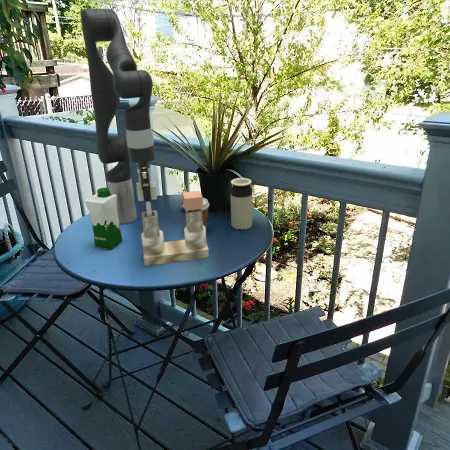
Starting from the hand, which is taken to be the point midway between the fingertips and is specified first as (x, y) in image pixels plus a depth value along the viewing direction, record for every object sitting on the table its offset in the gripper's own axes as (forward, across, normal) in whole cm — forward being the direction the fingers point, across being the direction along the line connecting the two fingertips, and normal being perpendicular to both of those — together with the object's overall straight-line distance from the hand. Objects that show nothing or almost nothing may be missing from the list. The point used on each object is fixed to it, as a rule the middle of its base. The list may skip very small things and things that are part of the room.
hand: (147, 197), depth 124 cm
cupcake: (+22, +35, -17) cm, 45 cm away
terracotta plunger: (+12, 0, -14) cm, 18 cm away
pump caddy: (+22, 0, -7) cm, 23 cm away
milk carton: (+22, +14, +16) cm, 30 cm away
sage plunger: (+7, 0, 0) cm, 7 cm away
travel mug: (+22, +16, -34) cm, 43 cm away
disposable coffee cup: (+22, +16, -17) cm, 32 cm away
